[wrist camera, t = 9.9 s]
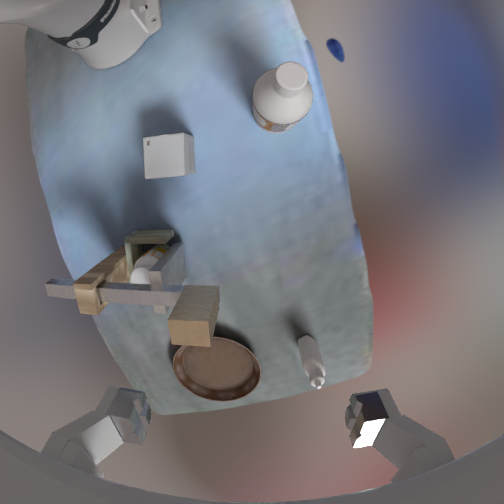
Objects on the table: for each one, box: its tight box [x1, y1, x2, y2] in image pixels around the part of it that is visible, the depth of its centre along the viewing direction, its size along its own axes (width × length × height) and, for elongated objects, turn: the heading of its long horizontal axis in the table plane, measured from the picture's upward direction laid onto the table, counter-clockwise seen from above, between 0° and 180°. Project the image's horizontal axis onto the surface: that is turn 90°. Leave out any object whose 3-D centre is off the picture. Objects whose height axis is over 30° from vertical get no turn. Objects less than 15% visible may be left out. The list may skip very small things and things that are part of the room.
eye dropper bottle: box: [298, 335, 326, 389], centre depth 47 cm, size 4×6×12 cm
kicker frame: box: [73, 229, 174, 315], centre depth 39 cm, size 10×10×17 cm
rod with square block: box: [45, 243, 220, 347], centre depth 36 cm, size 6×26×21 cm, turn 90°
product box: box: [143, 132, 195, 179], centre depth 38 cm, size 6×6×7 cm
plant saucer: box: [173, 336, 261, 401], centre depth 53 cm, size 18×18×3 cm
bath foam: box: [252, 62, 313, 133], centre depth 30 cm, size 7×7×20 cm
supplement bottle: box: [131, 244, 170, 284], centre depth 43 cm, size 5×5×10 cm
